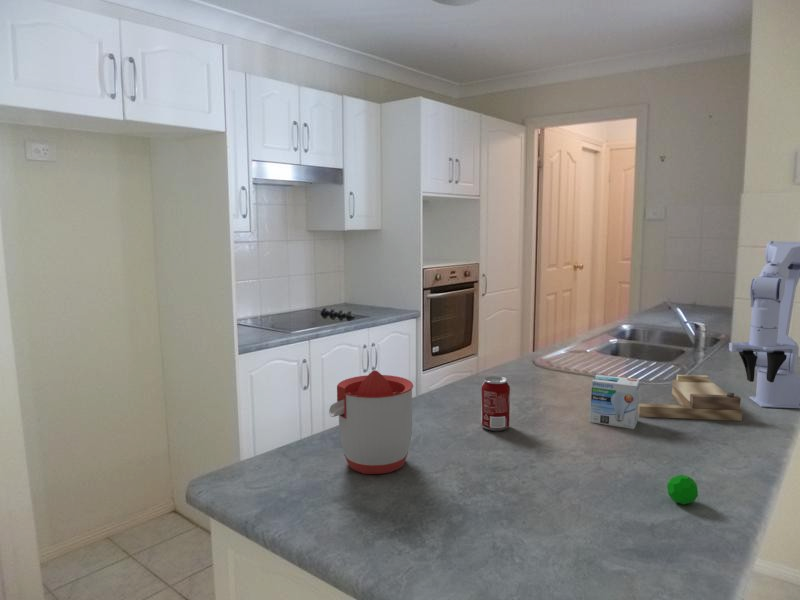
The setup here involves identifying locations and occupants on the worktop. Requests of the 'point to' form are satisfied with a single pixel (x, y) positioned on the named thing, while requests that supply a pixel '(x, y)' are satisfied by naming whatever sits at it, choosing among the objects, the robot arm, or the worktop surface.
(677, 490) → the polyhedron
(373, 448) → the citrus juicer
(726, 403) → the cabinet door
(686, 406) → the brown piece
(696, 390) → the lid
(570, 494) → the worktop surface
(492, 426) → the soda can
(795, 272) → the robot arm
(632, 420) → the light bulb box
